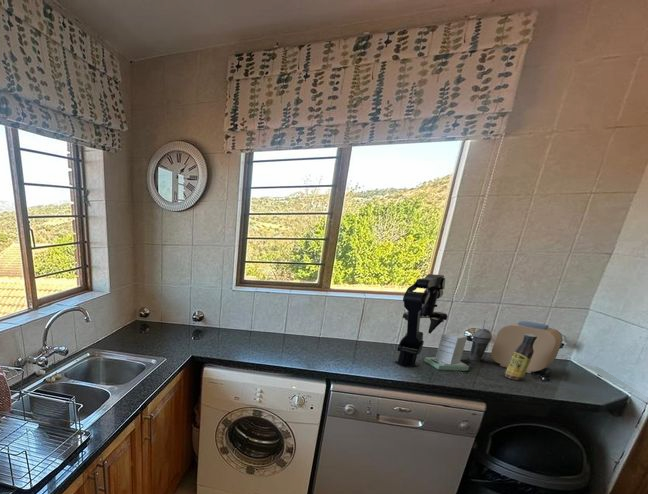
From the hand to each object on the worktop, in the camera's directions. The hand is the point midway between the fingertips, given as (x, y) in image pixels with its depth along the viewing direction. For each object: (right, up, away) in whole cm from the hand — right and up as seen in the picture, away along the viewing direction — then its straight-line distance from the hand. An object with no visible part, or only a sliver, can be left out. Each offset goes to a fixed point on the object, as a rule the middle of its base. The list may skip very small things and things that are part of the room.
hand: (420, 333), depth 196 cm
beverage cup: (+30, -13, +4) cm, 33 cm away
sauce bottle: (+28, -22, -19) cm, 40 cm away
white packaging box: (+9, -14, -6) cm, 17 cm away
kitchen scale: (+9, -16, -5) cm, 19 cm away
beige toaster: (+41, -17, -7) cm, 45 cm away
